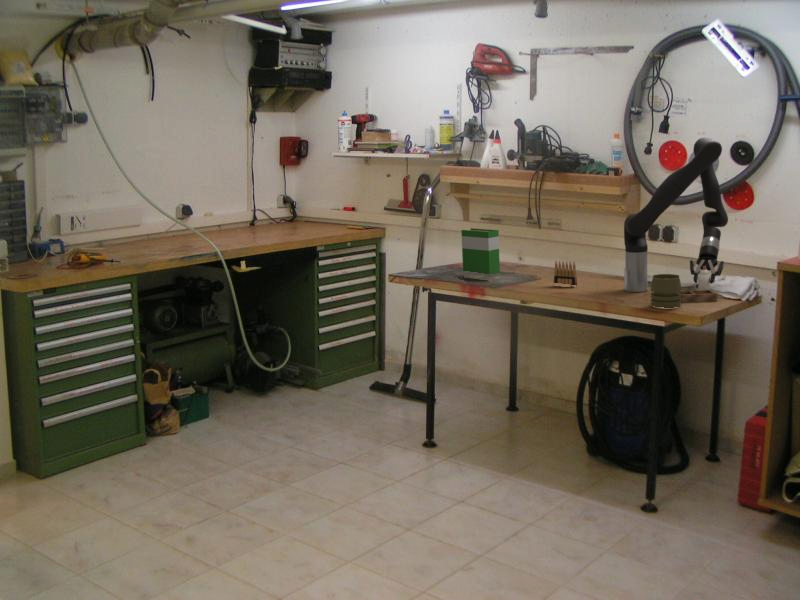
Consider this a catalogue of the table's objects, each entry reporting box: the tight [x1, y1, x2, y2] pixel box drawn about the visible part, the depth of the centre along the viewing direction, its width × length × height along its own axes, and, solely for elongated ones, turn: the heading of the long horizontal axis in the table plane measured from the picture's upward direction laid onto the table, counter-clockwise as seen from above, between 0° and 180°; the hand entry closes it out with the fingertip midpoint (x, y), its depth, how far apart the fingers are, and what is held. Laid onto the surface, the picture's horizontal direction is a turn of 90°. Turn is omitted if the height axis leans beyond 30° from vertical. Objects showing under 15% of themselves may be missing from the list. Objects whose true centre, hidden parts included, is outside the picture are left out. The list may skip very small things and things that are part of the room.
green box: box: [460, 227, 501, 274], centre depth 421 cm, size 18×7×24 cm, turn 42°
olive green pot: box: [650, 273, 682, 308], centre depth 340 cm, size 11×12×11 cm
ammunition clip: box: [553, 260, 578, 286], centre depth 390 cm, size 11×2×12 cm, turn 54°
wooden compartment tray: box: [678, 289, 718, 303], centre depth 350 cm, size 17×9×3 cm, turn 86°
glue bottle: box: [697, 266, 711, 290], centre depth 360 cm, size 5×5×12 cm
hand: (703, 282), depth 358 cm, fingers open, 5 cm apart
